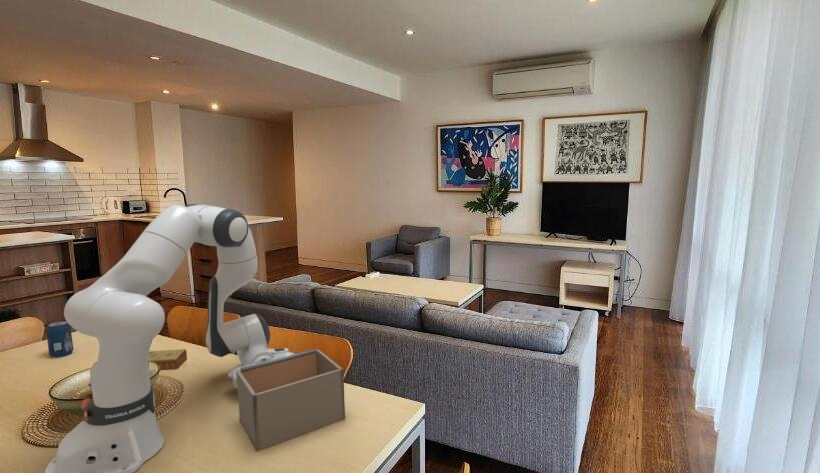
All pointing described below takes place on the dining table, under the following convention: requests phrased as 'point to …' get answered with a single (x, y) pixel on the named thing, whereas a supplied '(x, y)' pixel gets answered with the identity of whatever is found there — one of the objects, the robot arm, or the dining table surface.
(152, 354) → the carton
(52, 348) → the blue can
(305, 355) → the flap
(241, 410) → the open carton
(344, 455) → the dining table surface
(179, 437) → the dining table surface
